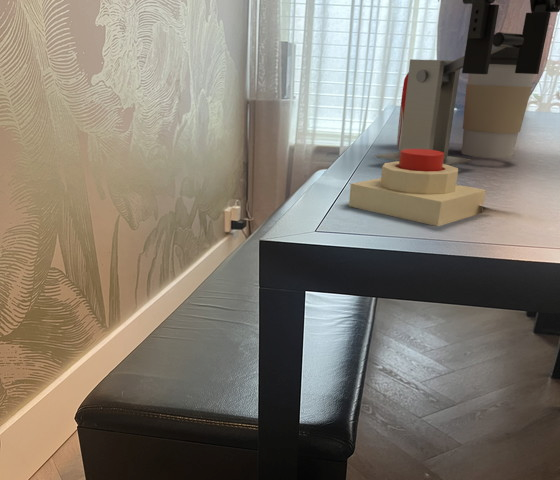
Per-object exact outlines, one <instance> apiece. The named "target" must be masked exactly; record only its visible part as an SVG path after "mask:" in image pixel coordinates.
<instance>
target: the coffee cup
mask: <svg viewBox="0 0 560 480" xmlns="http://www.w3.org/2000/svg"><path fill="white" fill-rule="evenodd" d="M519 48H520V47H518V48H510V47H505V48H503V49H501V50H499V51H497V52H495V53H493V54H491V57H490V63H489V69H488V74H467V76H468V77H467V83H466V86H465V88H466V89H465V98H464V107H463V108H464V109H463V119H462V120H463V121H462V129H463V132H462V133H463V134H462V142H461V143H462V144H461V154H462V155H465V156H468V157H475V158H483V159H509V158H512V157H513V154H514V152H515V151H514V150H515V147H516V143H517V139H518V136H519V133H520V132H521V129H522V126H523V121H524V119H525V114H526V111H527V107H528V103H529V99H530V96H531V92H532V88H533V86H532V84H533V79H534V75H535V74H522V73H515V69H516V64H517V59H518V53H519Z"/></svg>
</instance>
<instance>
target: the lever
mask: <svg viewBox="0 0 560 480" xmlns="http://www.w3.org/2000/svg"><path fill="white" fill-rule="evenodd" d="M523 42H524V37H523V35H522V33H514V32H503V31H499V32H496V33H494V39H493V45H492V51H491V54H493V53H495V52H497V51H499V50H501V49H503V48H505V47H510V48H518V47H520V46H521V45H522V44H523ZM464 56H465V55H462V56H461V57H459V58H456V59H455V60H451V61H452V62H450V63H448V64H446V62H445V63H444V70H443V77H442V85H443V84H445V83H447V82H449V81H450V80H449V74H451V73H453V72H455V71H457V70H459V69H460V70H461V69H463V63H464Z"/></svg>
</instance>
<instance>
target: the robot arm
mask: <svg viewBox="0 0 560 480" xmlns="http://www.w3.org/2000/svg"><path fill="white" fill-rule="evenodd" d="M495 2H496V0H462V3H463V4H464V5H471V11H470V17H469V23H468V29H467V36H466V37H467V38H466V43H465V51H464V55H463V56H464V63H463V68H461V69H462V70H461V74H467V75H469V74H488V69H489V63H490V57H491V51H492V45H493V39H494V35H495V34H496V33H495V32H496V26H497V22H498V21H497V20H498V15H499V9H500V4H496V3H495ZM529 4H530V12H525V17H524V22H523V28H522V33H521V35H523V37H524V42H523V44H522V45H521V46H520V48H519V53H518V59H517V64H516V69H515V73H522V74H534V75H539V74H540V69H541V63H542V59H543V58H542V57H543V54H544V48H545V44H546V38H547V34H548V29H549V25H550V24H549V23H550V19H551V14H552V13H559V12H560V0H529Z"/></svg>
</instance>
